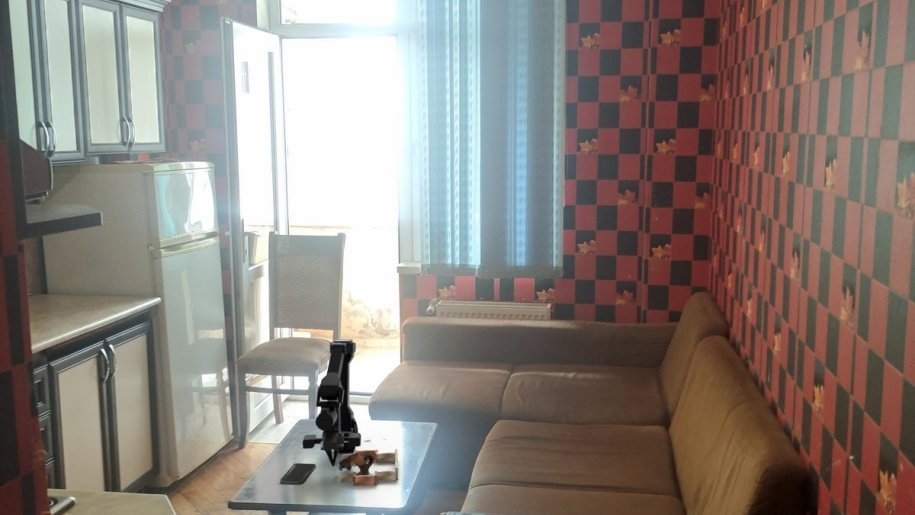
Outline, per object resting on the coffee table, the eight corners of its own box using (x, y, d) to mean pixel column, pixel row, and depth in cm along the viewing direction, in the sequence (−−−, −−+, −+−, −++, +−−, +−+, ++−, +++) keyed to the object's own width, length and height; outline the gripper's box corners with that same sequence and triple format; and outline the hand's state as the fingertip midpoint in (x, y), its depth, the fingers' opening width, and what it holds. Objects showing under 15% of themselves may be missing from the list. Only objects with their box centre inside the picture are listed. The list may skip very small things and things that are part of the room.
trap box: (339, 486, 260) (339, 474, 260) (343, 459, 282) (343, 448, 282) (398, 483, 262) (397, 471, 261) (397, 457, 284) (397, 446, 283)
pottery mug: (352, 485, 263) (340, 461, 264) (343, 488, 271) (331, 465, 272) (383, 467, 269) (371, 444, 270) (373, 470, 277) (362, 448, 278)
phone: (279, 481, 263) (294, 462, 278) (279, 484, 264) (294, 466, 278) (302, 482, 262) (317, 463, 277) (303, 485, 263) (317, 467, 277)
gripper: (299, 429, 260) (301, 476, 262) (359, 427, 261) (360, 474, 264) (303, 417, 271) (305, 463, 273) (360, 415, 272) (362, 460, 275)
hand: (333, 465), depth 271 cm, fingers closed
